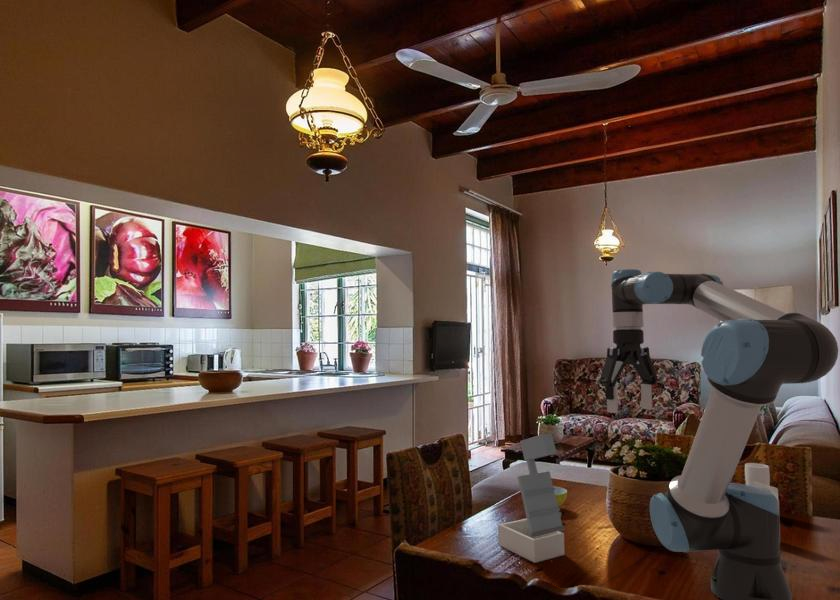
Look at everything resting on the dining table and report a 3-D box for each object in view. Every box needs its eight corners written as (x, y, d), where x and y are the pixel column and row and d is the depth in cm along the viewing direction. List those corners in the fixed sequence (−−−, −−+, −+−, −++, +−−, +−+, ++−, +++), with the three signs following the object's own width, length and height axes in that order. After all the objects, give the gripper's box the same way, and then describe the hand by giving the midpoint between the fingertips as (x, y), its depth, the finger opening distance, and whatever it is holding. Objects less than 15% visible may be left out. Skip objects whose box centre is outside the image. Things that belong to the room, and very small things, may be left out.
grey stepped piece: (561, 529, 146) (586, 527, 139) (529, 537, 140) (553, 535, 133) (540, 438, 154) (562, 431, 147) (508, 442, 148) (530, 435, 141)
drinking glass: (741, 511, 182) (739, 464, 183) (755, 509, 185) (753, 462, 186) (761, 518, 176) (760, 468, 177) (776, 515, 178) (774, 466, 179)
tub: (564, 557, 144) (564, 533, 145) (534, 565, 139) (534, 540, 140) (527, 540, 156) (527, 518, 157) (498, 547, 151) (498, 524, 152)
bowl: (525, 506, 188) (524, 486, 189) (555, 502, 192) (555, 484, 192) (542, 516, 177) (542, 496, 178) (574, 513, 181) (574, 493, 181)
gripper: (645, 329, 159) (648, 406, 158) (583, 328, 146) (585, 412, 145) (670, 329, 153) (672, 409, 152) (607, 328, 140) (609, 415, 138)
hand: (630, 410), depth 148 cm, fingers open, 13 cm apart
